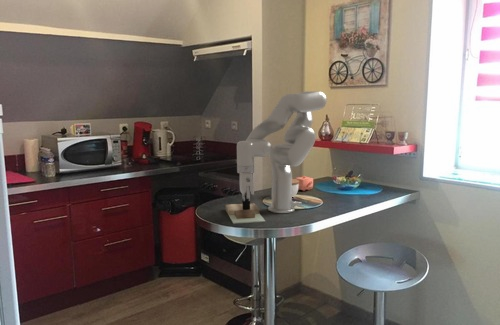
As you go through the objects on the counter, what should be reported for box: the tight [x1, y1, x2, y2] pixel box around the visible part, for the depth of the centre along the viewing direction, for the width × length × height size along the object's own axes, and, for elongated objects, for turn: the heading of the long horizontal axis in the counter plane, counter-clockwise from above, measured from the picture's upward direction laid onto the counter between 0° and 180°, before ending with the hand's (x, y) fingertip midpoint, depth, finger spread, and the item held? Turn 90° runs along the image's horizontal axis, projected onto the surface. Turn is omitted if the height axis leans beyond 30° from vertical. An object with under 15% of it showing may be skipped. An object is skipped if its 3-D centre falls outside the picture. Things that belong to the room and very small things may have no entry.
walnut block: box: [235, 210, 255, 219], centre depth 190 cm, size 8×7×2 cm
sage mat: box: [228, 213, 266, 225], centre depth 188 cm, size 14×12×1 cm
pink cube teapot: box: [294, 175, 314, 192], centre depth 245 cm, size 8×12×8 cm, turn 34°
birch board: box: [225, 202, 260, 216], centre depth 199 cm, size 14×11×2 cm
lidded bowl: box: [292, 178, 299, 197], centre depth 228 cm, size 13×13×11 cm
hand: (246, 209), depth 190 cm, fingers closed
